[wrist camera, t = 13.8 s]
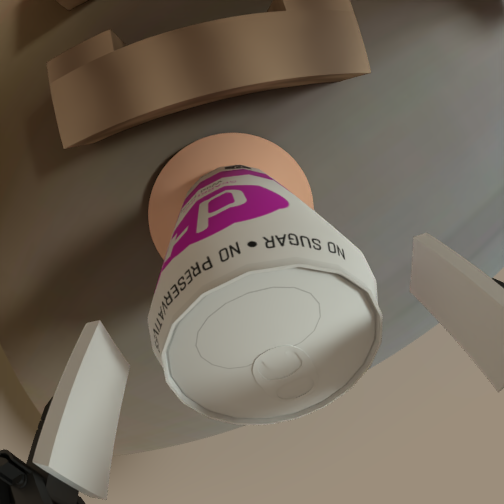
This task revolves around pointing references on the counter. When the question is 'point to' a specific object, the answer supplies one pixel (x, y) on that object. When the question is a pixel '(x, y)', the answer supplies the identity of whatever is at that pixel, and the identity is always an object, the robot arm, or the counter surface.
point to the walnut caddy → (200, 65)
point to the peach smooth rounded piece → (208, 159)
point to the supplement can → (260, 303)
